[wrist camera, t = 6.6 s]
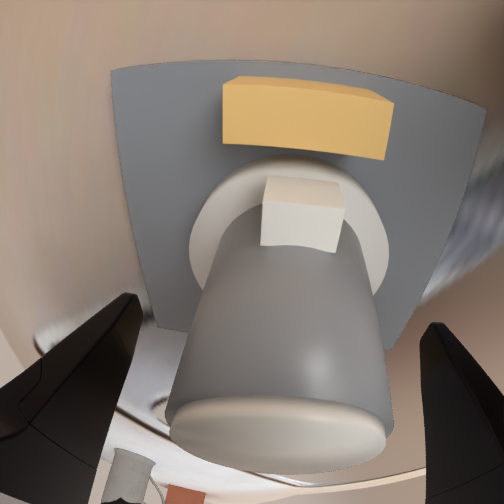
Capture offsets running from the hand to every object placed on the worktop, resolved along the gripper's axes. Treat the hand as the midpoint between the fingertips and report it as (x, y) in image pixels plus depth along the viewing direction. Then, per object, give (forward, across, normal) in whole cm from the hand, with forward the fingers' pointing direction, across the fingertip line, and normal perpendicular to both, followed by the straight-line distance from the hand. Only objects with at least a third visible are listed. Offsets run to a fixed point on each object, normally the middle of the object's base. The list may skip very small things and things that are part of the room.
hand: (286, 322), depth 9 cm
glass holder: (+5, +22, +58) cm, 62 cm away
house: (+5, +21, +103) cm, 105 cm away
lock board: (+5, 0, 0) cm, 5 cm away
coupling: (+2, 0, 0) cm, 3 cm away
